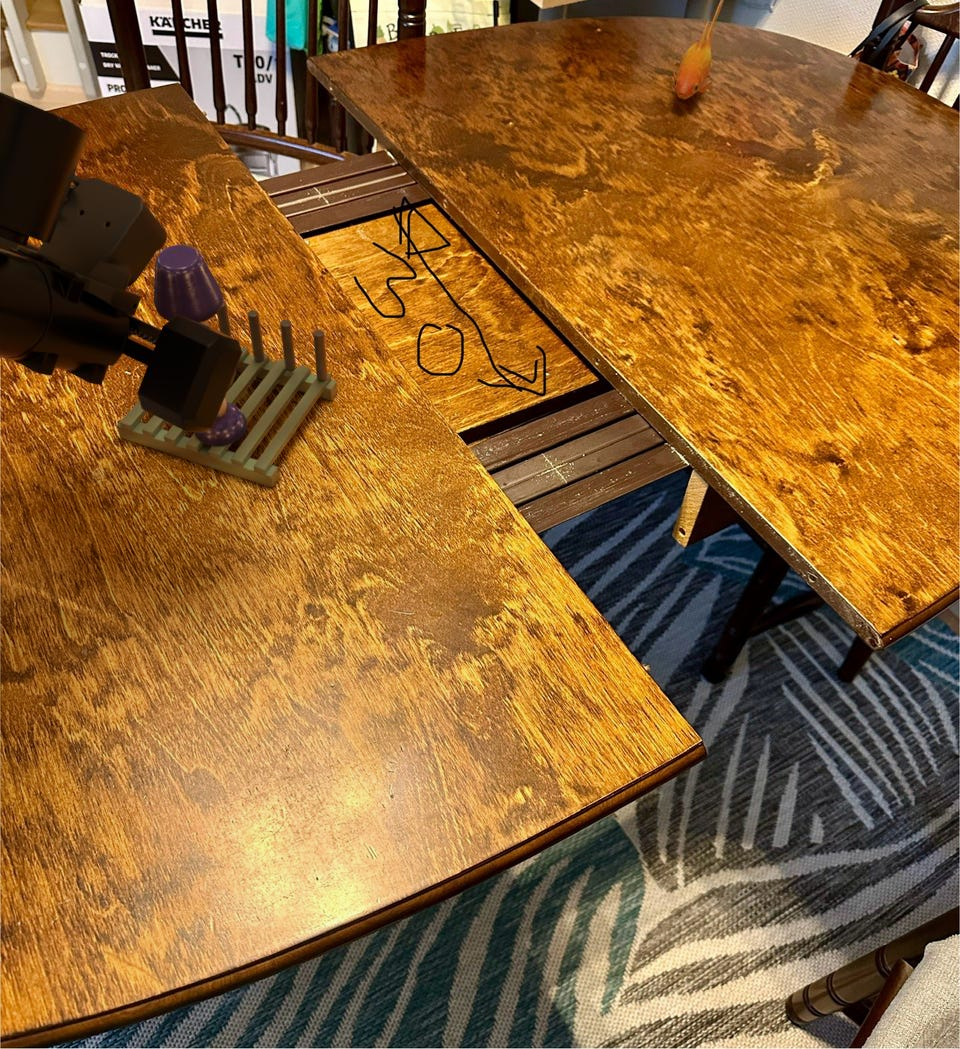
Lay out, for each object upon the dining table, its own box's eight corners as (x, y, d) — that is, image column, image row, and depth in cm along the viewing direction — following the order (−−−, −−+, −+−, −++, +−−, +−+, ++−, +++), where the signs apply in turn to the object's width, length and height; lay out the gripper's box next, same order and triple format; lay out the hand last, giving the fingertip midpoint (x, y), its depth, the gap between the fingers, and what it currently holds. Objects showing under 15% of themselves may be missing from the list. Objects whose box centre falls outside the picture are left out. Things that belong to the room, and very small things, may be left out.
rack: (119, 437, 74) (98, 374, 69) (196, 349, 82) (183, 285, 76) (272, 488, 72) (263, 426, 67) (337, 392, 79) (333, 330, 74)
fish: (694, 131, 117) (715, 55, 109) (654, 121, 118) (671, 44, 110) (729, 53, 129) (750, -21, 121) (692, 44, 130) (710, -30, 122)
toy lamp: (238, 454, 71) (205, 279, 58) (180, 448, 71) (133, 271, 58) (252, 412, 74) (223, 237, 61) (196, 406, 74) (155, 229, 61)
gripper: (194, 225, 46) (331, 294, 61) (-65, 113, 51) (121, 202, 66) (119, 425, 48) (270, 444, 63) (-126, 297, 52) (69, 344, 67)
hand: (181, 352), depth 64 cm, fingers open, 9 cm apart
